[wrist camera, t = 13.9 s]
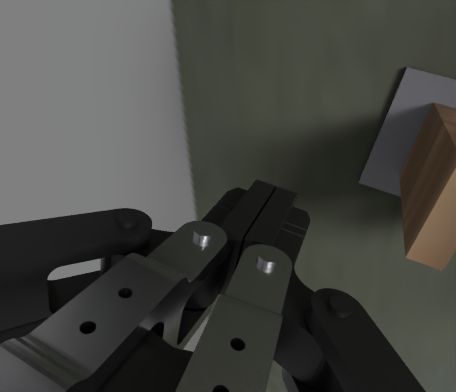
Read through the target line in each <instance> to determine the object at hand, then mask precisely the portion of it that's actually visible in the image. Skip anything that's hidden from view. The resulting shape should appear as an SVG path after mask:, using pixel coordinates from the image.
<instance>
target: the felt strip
mask: <svg viewBox="0 0 456 392" xmlns="http://www.w3.org/2000/svg"><path fill="white" fill-rule="evenodd" d="M433 103H438V104H442V105H445V106H449V107H453V108H456V79H453V78H449V77H445V76H441V75H437V74H433V73H429V72H426V71H422V70H418V69H414V68H410V67H407V68H406V70H405V72H404V75H403V77H402V79H401V82H400V84H399V87H398V89H397V91H396V94H395V96H394V99H393V101H392V103H391V106H390V108H389V110H388V113H387V115H386V118H385V120H384V122H383V125H382V127H381V129H380V132H379V134H378V137H377V139H376V141H375V144H374V146H373V148H372V151H371V153H370V156H369V158H368V160H367V163H366V165H365V168H364V170H363V172H362V175H361V177H360V179H359V183H360V184H363V185H366V186H369V187H372V188H375V189H378V190H381V191H384V192H387V193H390V194H393V195H396V196H399V197H401V191H400V178H399V174H400V172H401V170H402V168H403V166H404V163H405V161H406V159H407V157H408V155H409V153H410V151H411V149H412V147H413V145H414V143H415V140H416V138H417V136H418V134H419V132H420V130H421V128H422V126H423V124H424V122H425V120H426V117H427V115H428V113H429V111H430V109H431V107H432V105H433Z"/></svg>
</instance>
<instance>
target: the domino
mask: <svg viewBox="0 0 456 392" xmlns="http://www.w3.org/2000/svg"><path fill="white" fill-rule="evenodd" d="M399 178H400V191H401V204H402V217H403V230H404V243H405V256H406V258H408V259H411V260H414V261H416V262H419V263H422V264H425V265H428V266H430V267H433V268H436V269H439V270H441V271H443V270H444V268H445V267H446V265H447V263H448V262H449V260H450V259H451V257H452V256H453V254H454V252H455V251H456V108H453V107H449V106H445V105H442V104H438V103H433V105H432V107H431V109H430V111H429V113H428V115H427V117H426V120H425V122H424V124H423V126H422V128H421V130H420V132H419V134H418V136H417V138H416V140H415V143H414V145H413V147H412V149H411V151H410V153H409V155H408V157H407V159H406V161H405V163H404V166H403V168H402V170H401V172H400V174H399Z"/></svg>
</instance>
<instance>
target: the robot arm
mask: <svg viewBox="0 0 456 392" xmlns="http://www.w3.org/2000/svg"><path fill="white" fill-rule="evenodd" d="M296 198H297V193H294V192H291V191H289V190H286V189H283V188H280V187H277V188H276V186H274V185H271V184H268V183H265V182H262V181H259V180H256V181H255V182H254V183H253V185H252V186H251V187H250V188H249V190H248V191H247V190H244V189H241V188H235V189H233V190H230V191H227V193H226V194H225V195H224V196H223V197H222V198H221V200H219V201H218V203H217V204H216V205H215V206H214V207H213V208H212V209H211V210H210V212H209V213H208V214H207V215H206V216H205V217H204V218H203V219H202V220H201V221H192V222H189V223H186V224H184V225H183V226H182V227H180V228H179V229H178V230H177V231H176V232H167V231H161V230H154V229H152V220H151V218H150V217H149V216H148V215H147V214H145V213H144V212H142V211H139V210H136V209H129V208H122V209H114V210H108V211H99V212H92V213H85V214H78V215H71V216H64V217H56V218H49V219H41V220H35V221H28V222H20V223H13V224H5V225H0V392H266V388H267V383H268V379H269V375H270V371H271V366H272V362H273V360H274V361H276V362H277V363H278V364H279V365H280V366H282V367H283V369H282V377H283V380H284V383H285V385H286V388H287V390H288V392H426V391H425V390H424V389H423V387H422V386H421V385H420V383H419V382H418V381H417V379H416V378H415V377H414V375H413V374H412V373H411V371H410V370H409V369H408V367H407V366H406V365H405V363H404V362H403V361H402V359H401V358H400V357H399V355H398V354H397V352H396V351H395V350H394V348H393V347H392V346H391V344H390V343H389V342H388V340H387V339H386V338H385V336H384V335H383V334H382V332H381V331H380V330H379V328H378V327H377V326H376V324H375V323H374V322H373V320H372V319H371V317H370V316H369V315H368V313H367V312H366V311H365V309H364V308H363V307H362V305H361V304H360V303H359V302H358V301H357V300H356V299H354V298H353V297H352V296H350V295H348V294H347V293H345V292H342V291H340V290H336V289H331V288H324V289H320V290H317V291H316V292H314V291H312V290H311V289H309V288H308V287H307V286H305V285H304V284H303V283H302V282H301V281H300V280H299V278H298V277H297V275H296V273H295V270H294V265H295V262H296V260H297V257H298V254H299V251H300V249H301V246H302V243H303V240H304V237H305V235H306V232H307V229H308V226H309V224H310V219H309V216H308V213H307V212H306V211H304V210H301V209H298V208H295V207H294V204H295V201H296ZM100 258H101V270H99V271H95V272H91V273H86V274H81V275H76V276H72V277H67V278H63V279H58V280H47V278H48V275H49V274H50V273H51V272H52V271H53V270H54V269H56V268H58V267H60V266H65V265H70V264H75V263H80V262H85V261H90V260H94V259H100ZM218 294H221V295H220V297H219V299H218V301H217V303H216V305H215V307H214V309H213V312H212V314H211V316H210V318H209V320H208V322H207V324H206V327H205V329H204V331H203V333H202V335H201V337H200V340H199V342H198V344H197V346H196V348H195V350H194V352H192V351H187V350H183V349H184V347H185V346H186V345H187V343H188V342H189V340H190V339H191V338H192V336H193V335H194V333H195V332H196V331H197V330H198V328H199V327H200V325H201V324H202V322H203V321H204V320H205V319H206V317H207V316H208V314H209V313H210V311H211V307H212V303H213V302H214V301H215V299H216V298H217V296H218Z"/></svg>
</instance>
